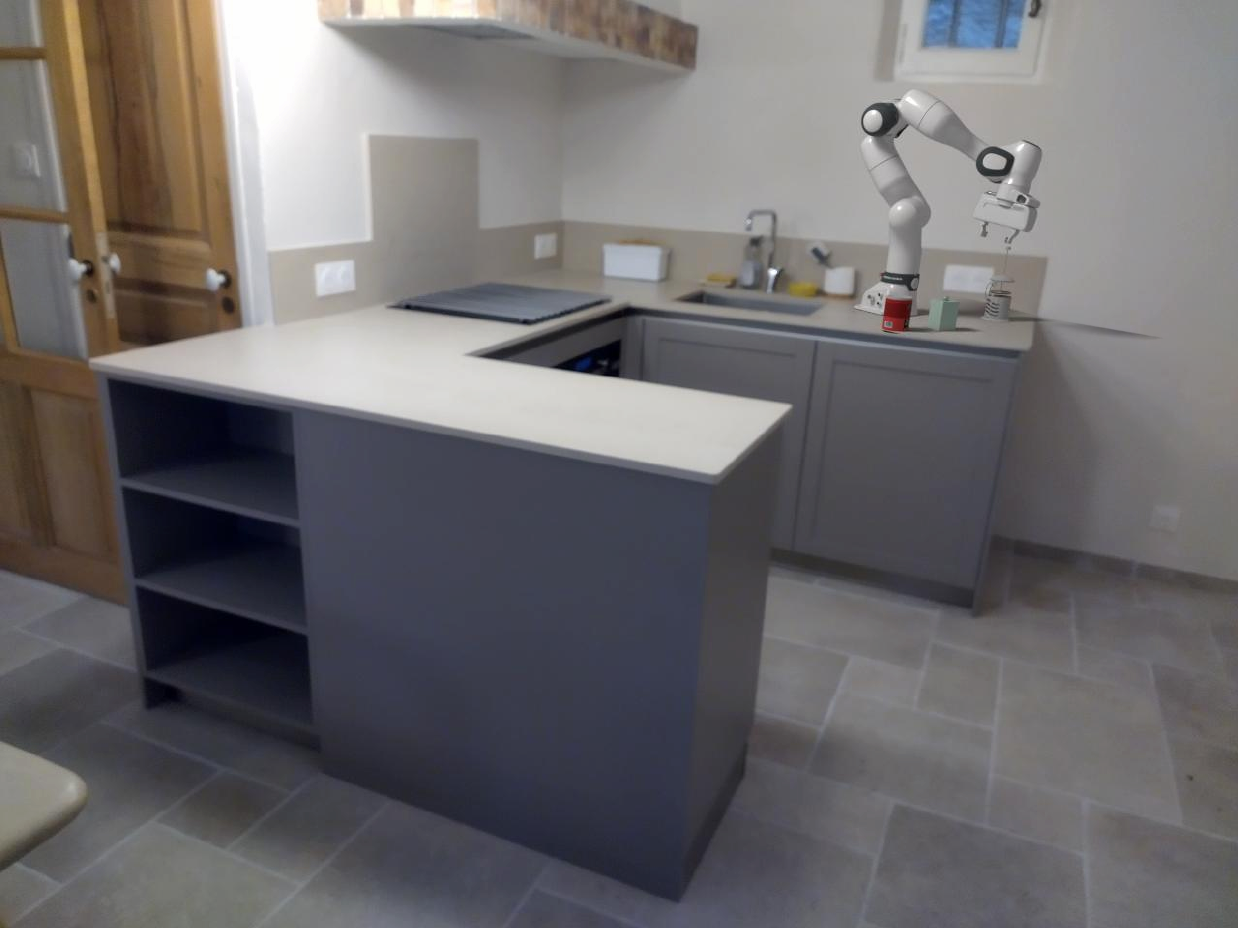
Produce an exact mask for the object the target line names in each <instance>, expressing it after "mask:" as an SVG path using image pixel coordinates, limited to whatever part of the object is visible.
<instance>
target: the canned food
mask: <svg viewBox="0 0 1238 928" xmlns="http://www.w3.org/2000/svg"><path fill="white" fill-rule="evenodd" d="M912 301H913V297H910V296H905V295H887V296H886V300H885V308H884V315H882V316H883V317H882V324H881V329H882V330H881V331H882V332H884V333H887V334H888V333H889V334H896V335H897V334H898V335H900V333H902V332H908V331H909V327H910V320H911V316H910V315H911V308H912ZM898 332H900V333H898Z"/></svg>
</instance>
